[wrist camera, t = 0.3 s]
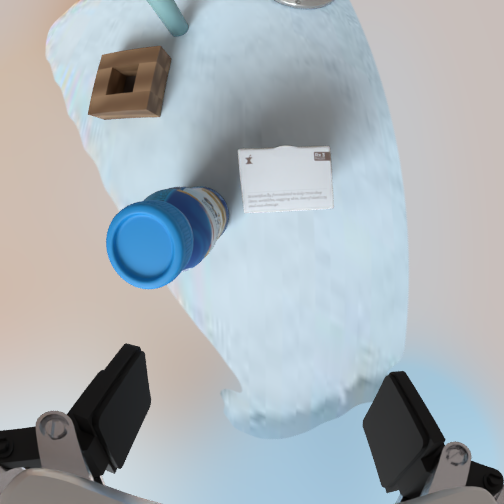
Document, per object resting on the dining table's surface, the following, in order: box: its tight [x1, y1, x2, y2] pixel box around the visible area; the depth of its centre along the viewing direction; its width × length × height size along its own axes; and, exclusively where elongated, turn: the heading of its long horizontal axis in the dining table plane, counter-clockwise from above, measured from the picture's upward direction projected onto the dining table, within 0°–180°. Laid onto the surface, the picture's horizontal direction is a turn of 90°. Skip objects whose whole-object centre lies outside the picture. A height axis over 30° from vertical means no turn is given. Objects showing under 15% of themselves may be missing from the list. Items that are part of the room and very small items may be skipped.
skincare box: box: [238, 145, 334, 213], centre depth 29 cm, size 8×6×15 cm
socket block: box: [88, 46, 171, 120], centre depth 31 cm, size 10×10×5 cm
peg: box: [147, 0, 188, 36], centre depth 25 cm, size 3×3×12 cm
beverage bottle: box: [106, 187, 229, 289], centre depth 29 cm, size 8×8×20 cm
